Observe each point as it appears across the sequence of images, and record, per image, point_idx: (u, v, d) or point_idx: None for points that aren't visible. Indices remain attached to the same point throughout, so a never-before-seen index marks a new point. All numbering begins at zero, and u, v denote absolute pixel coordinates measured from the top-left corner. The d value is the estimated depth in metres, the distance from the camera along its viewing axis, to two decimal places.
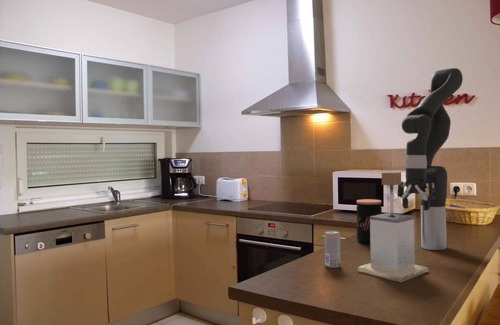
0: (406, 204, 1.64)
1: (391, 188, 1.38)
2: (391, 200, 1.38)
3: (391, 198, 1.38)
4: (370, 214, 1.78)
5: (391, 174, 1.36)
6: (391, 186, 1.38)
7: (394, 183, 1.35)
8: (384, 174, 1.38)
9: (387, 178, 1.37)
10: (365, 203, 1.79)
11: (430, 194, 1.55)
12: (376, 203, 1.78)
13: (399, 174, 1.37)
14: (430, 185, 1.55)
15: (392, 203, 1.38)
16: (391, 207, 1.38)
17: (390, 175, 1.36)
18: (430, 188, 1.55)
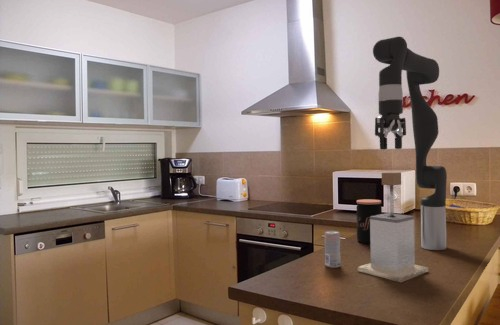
0: None
1: (391, 188, 1.38)
2: (391, 200, 1.38)
3: (391, 198, 1.38)
4: (370, 214, 1.78)
5: (391, 174, 1.36)
6: (391, 186, 1.38)
7: (394, 183, 1.35)
8: (384, 174, 1.38)
9: (387, 178, 1.37)
10: (365, 203, 1.79)
11: (405, 130, 1.41)
12: (376, 203, 1.78)
13: (399, 174, 1.37)
14: (404, 120, 1.41)
15: (392, 203, 1.38)
16: (391, 207, 1.38)
17: (390, 175, 1.36)
18: (404, 123, 1.41)
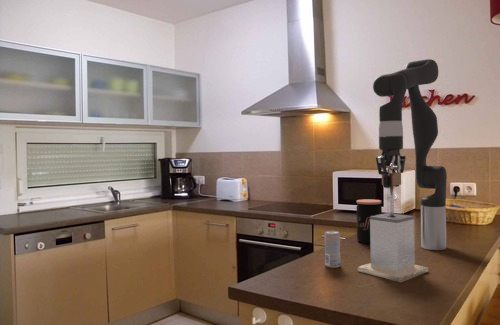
0: None
1: (391, 188, 1.38)
2: (391, 200, 1.38)
3: (391, 198, 1.38)
4: (370, 214, 1.78)
5: (391, 174, 1.36)
6: (391, 186, 1.38)
7: (394, 183, 1.35)
8: None
9: None
10: (365, 203, 1.79)
11: (403, 167, 1.40)
12: (376, 203, 1.78)
13: (399, 174, 1.37)
14: (404, 158, 1.41)
15: (392, 203, 1.38)
16: (391, 207, 1.38)
17: (390, 175, 1.36)
18: (404, 161, 1.41)
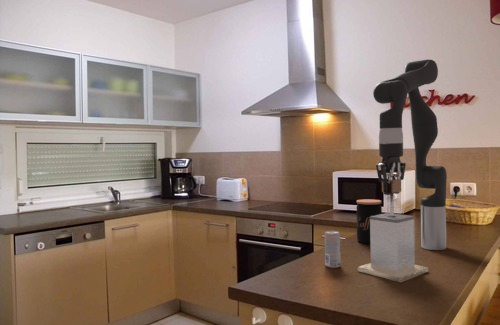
0: None
1: (391, 195, 1.38)
2: (391, 207, 1.38)
3: (391, 205, 1.38)
4: (370, 214, 1.78)
5: (391, 181, 1.36)
6: (391, 193, 1.38)
7: (394, 190, 1.35)
8: None
9: None
10: (365, 203, 1.79)
11: (403, 174, 1.40)
12: (376, 203, 1.78)
13: (399, 181, 1.37)
14: (404, 165, 1.41)
15: (392, 210, 1.38)
16: (391, 214, 1.38)
17: (390, 182, 1.36)
18: (404, 168, 1.41)
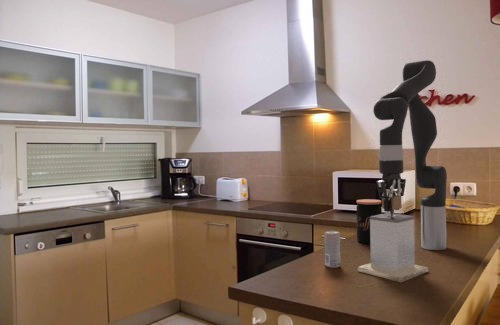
0: None
1: (391, 212, 1.38)
2: None
3: None
4: (370, 214, 1.78)
5: (391, 198, 1.36)
6: (391, 210, 1.38)
7: (394, 207, 1.36)
8: None
9: None
10: (365, 203, 1.79)
11: (403, 191, 1.40)
12: (376, 203, 1.78)
13: (399, 198, 1.37)
14: (405, 181, 1.41)
15: None
16: None
17: None
18: (404, 184, 1.41)
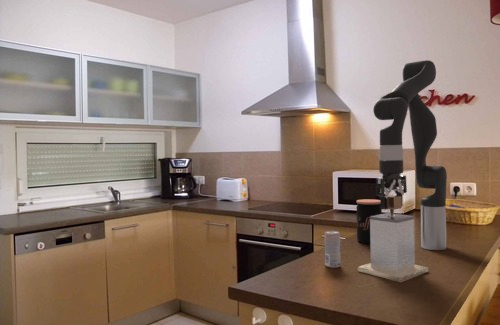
0: None
1: (391, 212, 1.38)
2: None
3: None
4: (370, 214, 1.78)
5: (391, 198, 1.36)
6: (391, 210, 1.38)
7: (394, 207, 1.36)
8: None
9: None
10: (365, 203, 1.79)
11: (405, 187, 1.41)
12: (376, 203, 1.78)
13: (399, 198, 1.37)
14: (405, 177, 1.41)
15: None
16: None
17: (390, 199, 1.36)
18: (405, 181, 1.41)
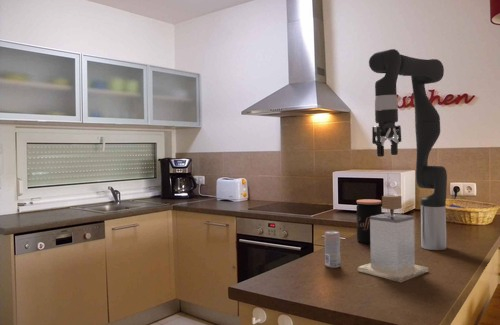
0: None
1: (391, 212, 1.38)
2: None
3: None
4: (370, 214, 1.78)
5: (391, 198, 1.36)
6: (391, 210, 1.38)
7: (394, 207, 1.36)
8: (384, 198, 1.38)
9: (387, 202, 1.37)
10: (365, 203, 1.79)
11: (400, 137, 1.49)
12: (376, 203, 1.78)
13: (399, 198, 1.37)
14: (400, 127, 1.49)
15: None
16: None
17: (390, 199, 1.36)
18: (400, 130, 1.49)
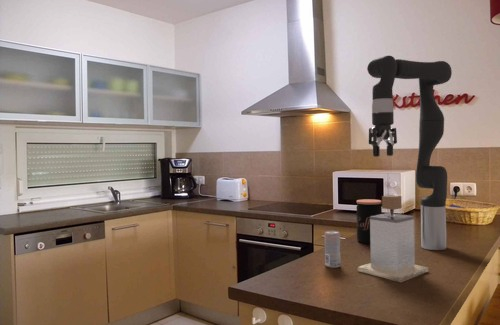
0: None
1: (391, 212, 1.38)
2: None
3: None
4: (370, 214, 1.78)
5: (391, 198, 1.36)
6: (391, 210, 1.38)
7: (394, 207, 1.36)
8: (384, 198, 1.38)
9: (387, 202, 1.37)
10: (365, 203, 1.79)
11: (395, 138, 1.57)
12: (376, 203, 1.78)
13: (399, 198, 1.37)
14: (395, 130, 1.57)
15: None
16: None
17: (390, 199, 1.36)
18: (395, 133, 1.57)
